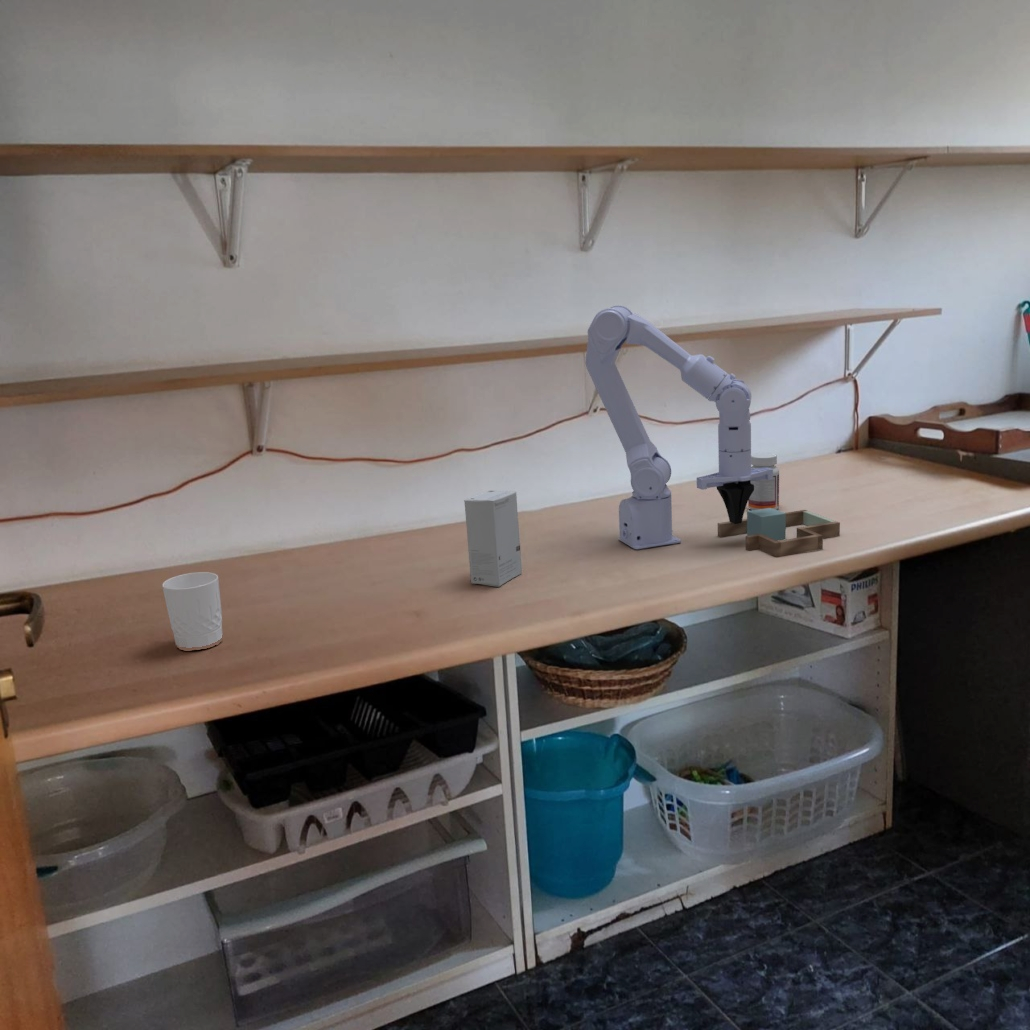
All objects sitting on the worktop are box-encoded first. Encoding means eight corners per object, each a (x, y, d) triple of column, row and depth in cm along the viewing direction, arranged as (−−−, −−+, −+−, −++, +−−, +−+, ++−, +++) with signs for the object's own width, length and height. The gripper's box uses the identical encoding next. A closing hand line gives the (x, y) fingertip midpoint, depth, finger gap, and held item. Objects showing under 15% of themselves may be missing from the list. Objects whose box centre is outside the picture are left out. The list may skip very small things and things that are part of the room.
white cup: (232, 632, 149) (224, 570, 147) (219, 651, 142) (209, 586, 139) (181, 635, 149) (171, 573, 146) (165, 655, 141) (154, 590, 139)
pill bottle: (760, 503, 205) (760, 450, 202) (785, 508, 200) (785, 454, 197) (742, 509, 201) (741, 455, 198) (766, 514, 196) (766, 459, 193)
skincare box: (499, 588, 162) (493, 501, 158) (468, 584, 165) (462, 499, 161) (523, 573, 169) (518, 489, 165) (493, 569, 172) (488, 487, 168)
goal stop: (831, 535, 179) (831, 522, 178) (803, 524, 187) (803, 511, 187) (836, 534, 179) (836, 521, 179) (807, 523, 188) (807, 510, 187)
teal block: (761, 543, 177) (761, 517, 176) (747, 537, 182) (747, 511, 180) (785, 539, 178) (785, 513, 177) (770, 533, 183) (770, 507, 182)
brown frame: (765, 558, 168) (765, 544, 167) (717, 535, 183) (717, 523, 183) (858, 543, 173) (859, 529, 173) (804, 522, 189) (804, 509, 188)
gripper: (709, 457, 168) (711, 533, 171) (782, 447, 172) (782, 521, 176) (690, 451, 175) (692, 524, 178) (760, 441, 179) (761, 513, 182)
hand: (735, 522), depth 177 cm, fingers closed
